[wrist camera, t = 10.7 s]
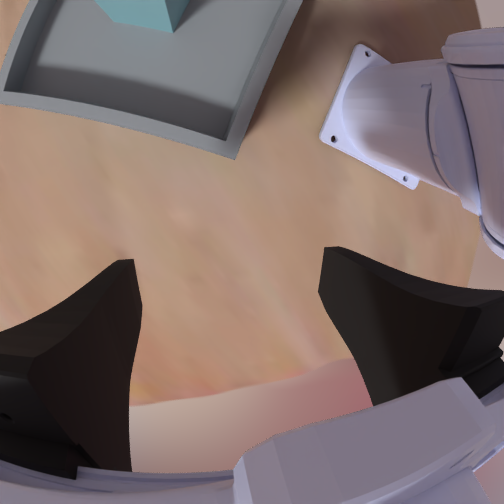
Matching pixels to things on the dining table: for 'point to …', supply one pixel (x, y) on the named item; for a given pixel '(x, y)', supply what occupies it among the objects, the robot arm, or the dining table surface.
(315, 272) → the dining table surface
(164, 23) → the block
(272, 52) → the tray
